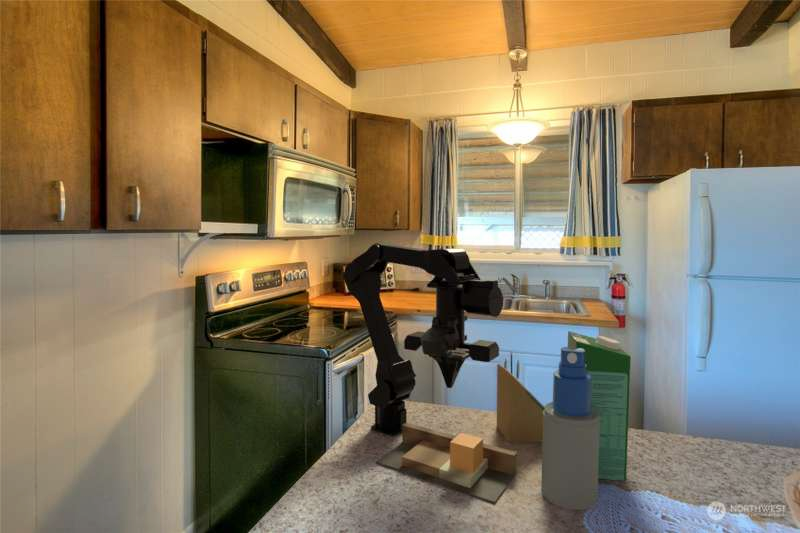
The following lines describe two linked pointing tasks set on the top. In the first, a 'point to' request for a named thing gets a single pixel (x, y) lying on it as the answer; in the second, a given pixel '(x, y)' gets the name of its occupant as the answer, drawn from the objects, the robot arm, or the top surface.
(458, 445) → the block
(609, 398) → the milk carton
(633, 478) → the top surface
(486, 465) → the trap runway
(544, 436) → the spray bottle
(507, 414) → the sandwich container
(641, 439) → the top surface
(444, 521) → the top surface
